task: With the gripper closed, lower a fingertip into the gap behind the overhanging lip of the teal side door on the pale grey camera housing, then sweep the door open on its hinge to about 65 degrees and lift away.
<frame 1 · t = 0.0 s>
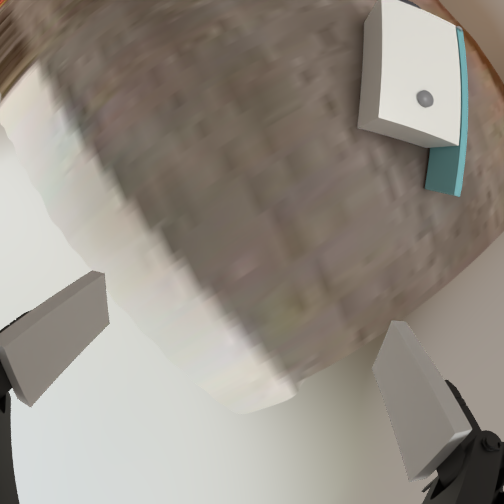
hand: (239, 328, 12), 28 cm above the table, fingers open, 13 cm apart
side door: (451, 107, 27), point 5 cm above the table, hinge at 0.0°
camera housing: (397, 81, 31), on the table
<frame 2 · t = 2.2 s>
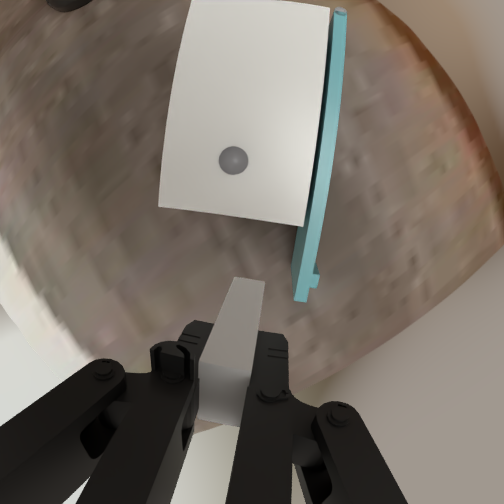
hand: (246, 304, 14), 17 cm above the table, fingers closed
side door: (325, 148, 22), point 5 cm above the table, hinge at 0.0°
camera housing: (254, 115, 26), on the table
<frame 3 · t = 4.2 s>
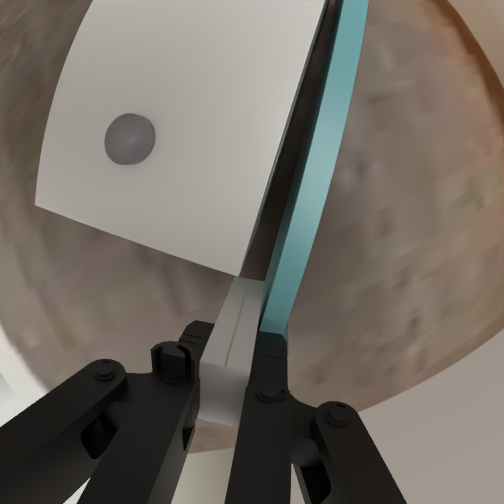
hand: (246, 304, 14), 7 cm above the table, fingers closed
side door: (324, 141, 13), point 5 cm above the table, hinge at 3.1°, touching gripper
camera housing: (218, 83, 17), on the table
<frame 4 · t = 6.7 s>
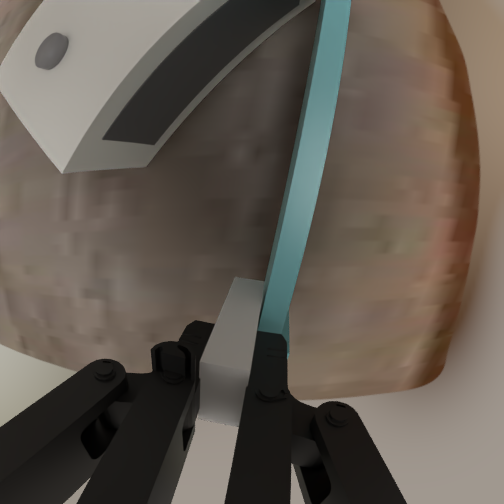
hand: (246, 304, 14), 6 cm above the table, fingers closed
side door: (316, 135, 13), point 5 cm above the table, hinge at 32.4°, touching gripper
camera housing: (177, 36, 16), on the table
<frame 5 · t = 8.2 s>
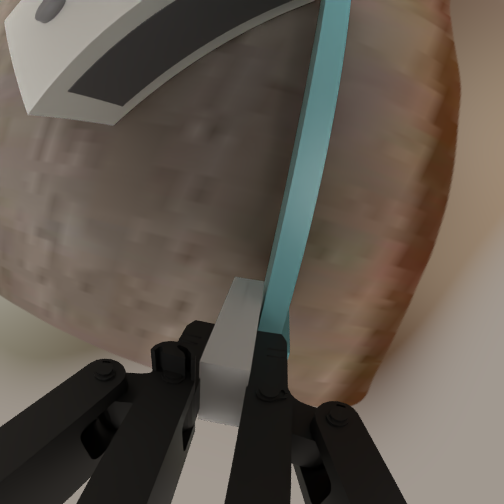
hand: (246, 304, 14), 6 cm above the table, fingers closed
side door: (316, 134, 13), point 5 cm above the table, hinge at 46.9°, touching gripper
camera housing: (175, 10, 15), on the table
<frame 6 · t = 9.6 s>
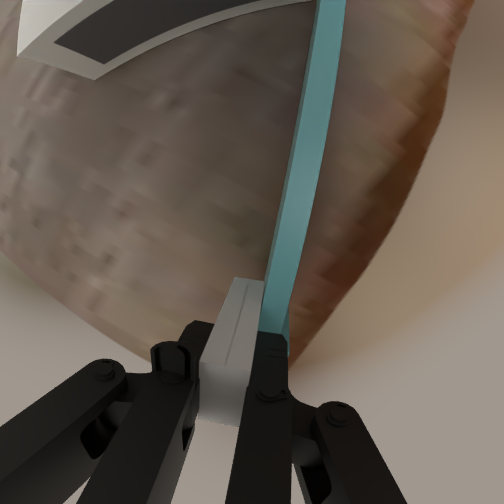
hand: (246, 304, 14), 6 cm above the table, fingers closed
side door: (314, 133, 13), point 5 cm above the table, hinge at 63.0°, touching gripper
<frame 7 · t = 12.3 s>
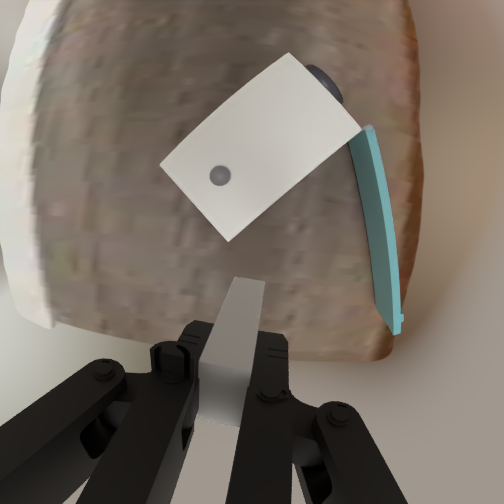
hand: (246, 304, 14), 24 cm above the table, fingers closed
side door: (382, 230, 31), point 5 cm above the table, hinge at 63.1°
camera housing: (263, 150, 35), on the table
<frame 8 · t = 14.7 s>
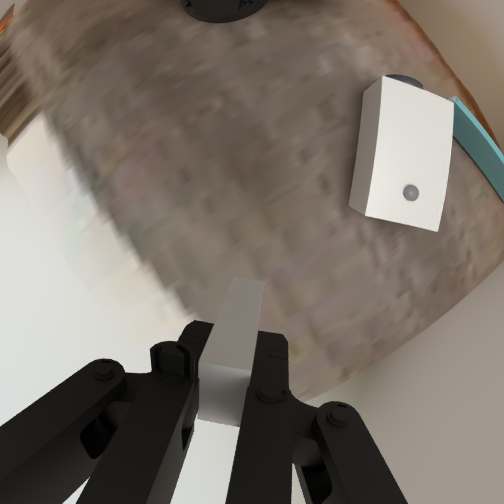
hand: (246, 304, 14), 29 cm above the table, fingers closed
side door: (488, 155, 30), point 5 cm above the table, hinge at 63.1°
camera housing: (390, 155, 37), on the table
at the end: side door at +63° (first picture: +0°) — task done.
